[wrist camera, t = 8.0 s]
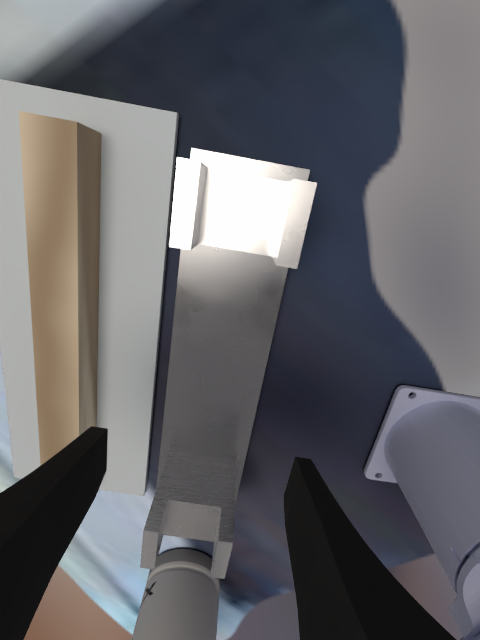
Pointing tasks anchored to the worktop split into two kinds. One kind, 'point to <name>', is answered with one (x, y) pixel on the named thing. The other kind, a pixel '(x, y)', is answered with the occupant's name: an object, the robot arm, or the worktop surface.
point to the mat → (114, 273)
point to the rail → (62, 272)
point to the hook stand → (221, 335)
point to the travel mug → (179, 599)
